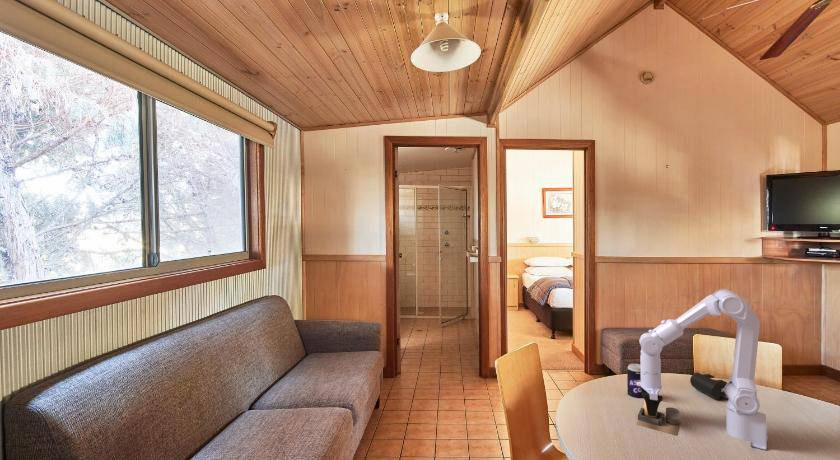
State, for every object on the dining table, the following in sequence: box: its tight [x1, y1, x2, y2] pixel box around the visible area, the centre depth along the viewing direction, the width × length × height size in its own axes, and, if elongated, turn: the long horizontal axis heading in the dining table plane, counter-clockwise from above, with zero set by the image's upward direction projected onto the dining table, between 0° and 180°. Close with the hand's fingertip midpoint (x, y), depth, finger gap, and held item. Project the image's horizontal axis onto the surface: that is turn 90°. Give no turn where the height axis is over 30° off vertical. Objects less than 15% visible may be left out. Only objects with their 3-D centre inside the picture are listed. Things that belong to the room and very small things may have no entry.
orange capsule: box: [643, 400, 657, 419], centre depth 127 cm, size 4×4×6 cm
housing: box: [636, 407, 682, 437], centre depth 125 cm, size 11×10×5 cm
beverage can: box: [626, 362, 644, 399], centre depth 145 cm, size 6×6×12 cm
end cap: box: [689, 372, 729, 402], centre depth 146 cm, size 10×7×7 cm
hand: (651, 412), depth 127 cm, fingers closed on orange capsule, 3 cm apart
